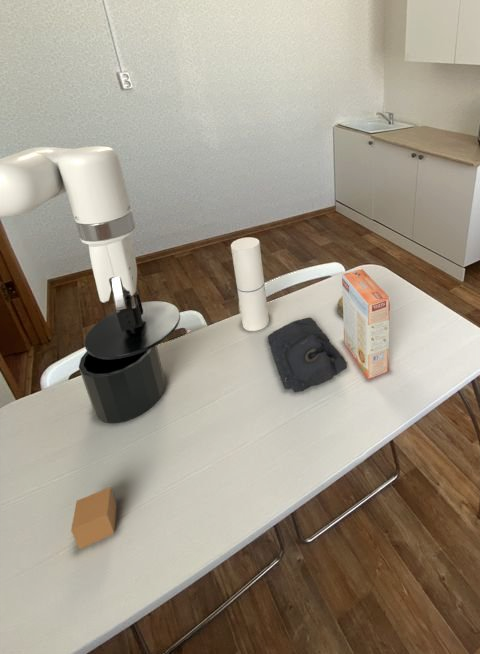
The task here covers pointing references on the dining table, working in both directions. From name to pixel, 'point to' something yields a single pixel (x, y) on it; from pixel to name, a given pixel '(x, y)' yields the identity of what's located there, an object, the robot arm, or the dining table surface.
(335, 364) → the black fabric pouch
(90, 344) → the bin lid
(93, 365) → the trash can
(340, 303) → the cake
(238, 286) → the cylindrical container
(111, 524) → the cube
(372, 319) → the cracker box
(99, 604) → the dining table surface
